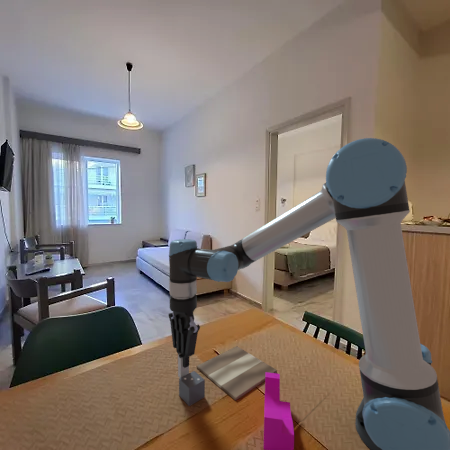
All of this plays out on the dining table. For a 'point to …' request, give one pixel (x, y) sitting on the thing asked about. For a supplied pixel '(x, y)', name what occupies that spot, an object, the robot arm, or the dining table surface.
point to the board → (236, 371)
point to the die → (191, 388)
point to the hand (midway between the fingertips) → (183, 375)
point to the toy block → (276, 417)
